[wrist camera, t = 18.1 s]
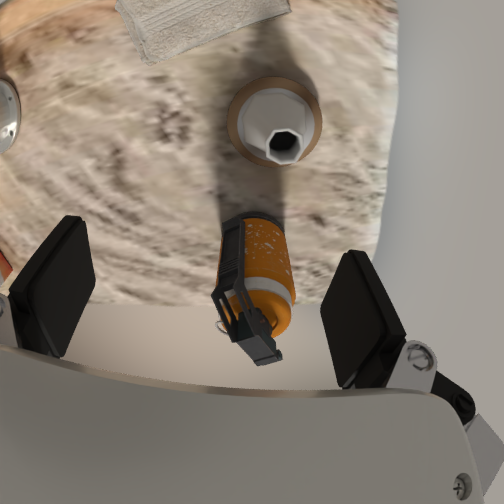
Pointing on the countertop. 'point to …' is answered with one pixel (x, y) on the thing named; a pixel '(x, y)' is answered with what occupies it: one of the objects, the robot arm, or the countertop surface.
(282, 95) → the flask
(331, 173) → the countertop surface
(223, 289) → the canister
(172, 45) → the washcloth
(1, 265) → the cracker box
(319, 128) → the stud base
